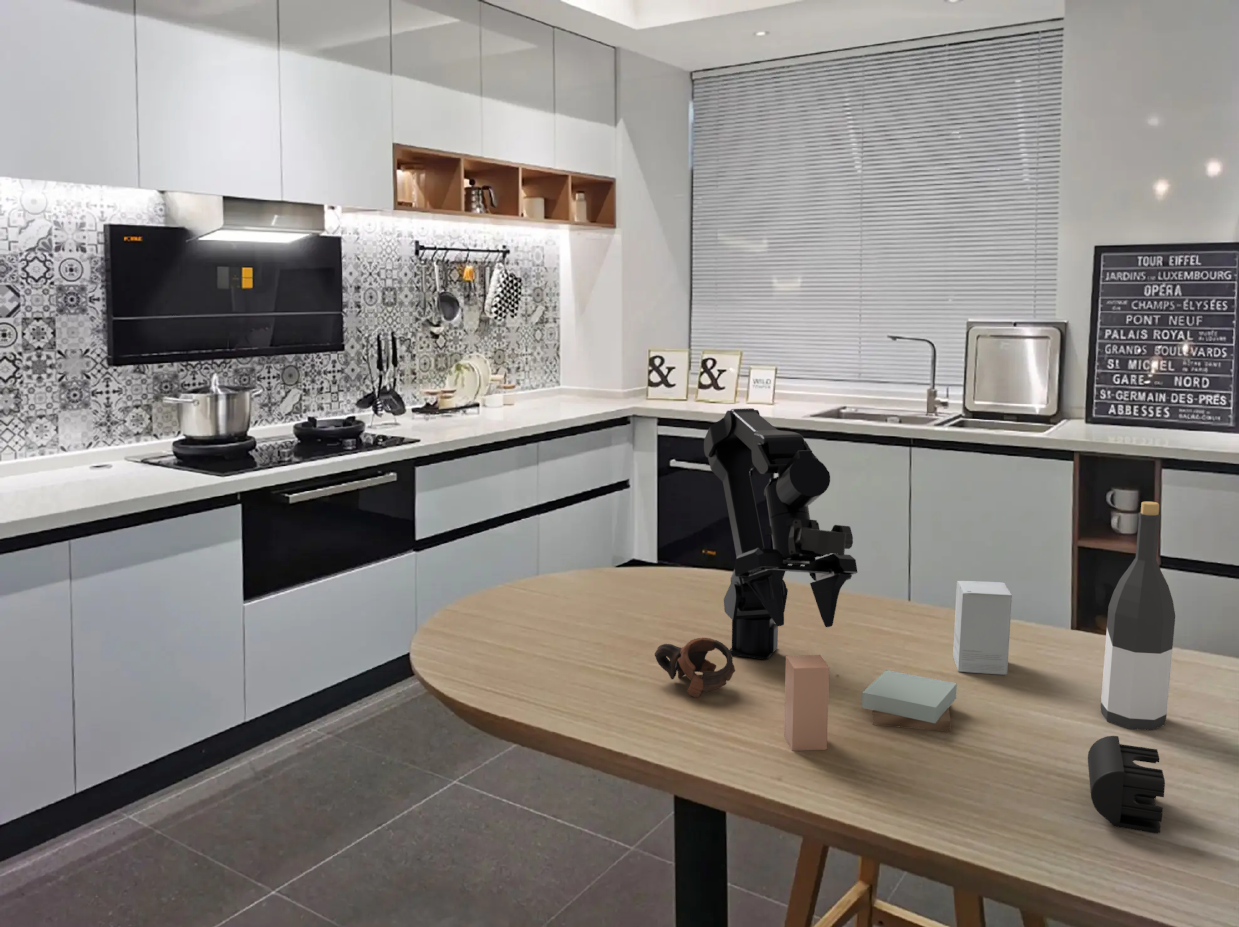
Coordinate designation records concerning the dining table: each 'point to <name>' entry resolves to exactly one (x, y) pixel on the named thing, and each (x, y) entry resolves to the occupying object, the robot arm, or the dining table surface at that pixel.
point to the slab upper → (909, 696)
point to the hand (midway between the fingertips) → (805, 626)
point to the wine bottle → (1139, 637)
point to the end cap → (1125, 784)
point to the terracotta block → (806, 702)
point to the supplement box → (982, 627)
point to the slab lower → (912, 721)
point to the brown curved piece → (696, 664)
